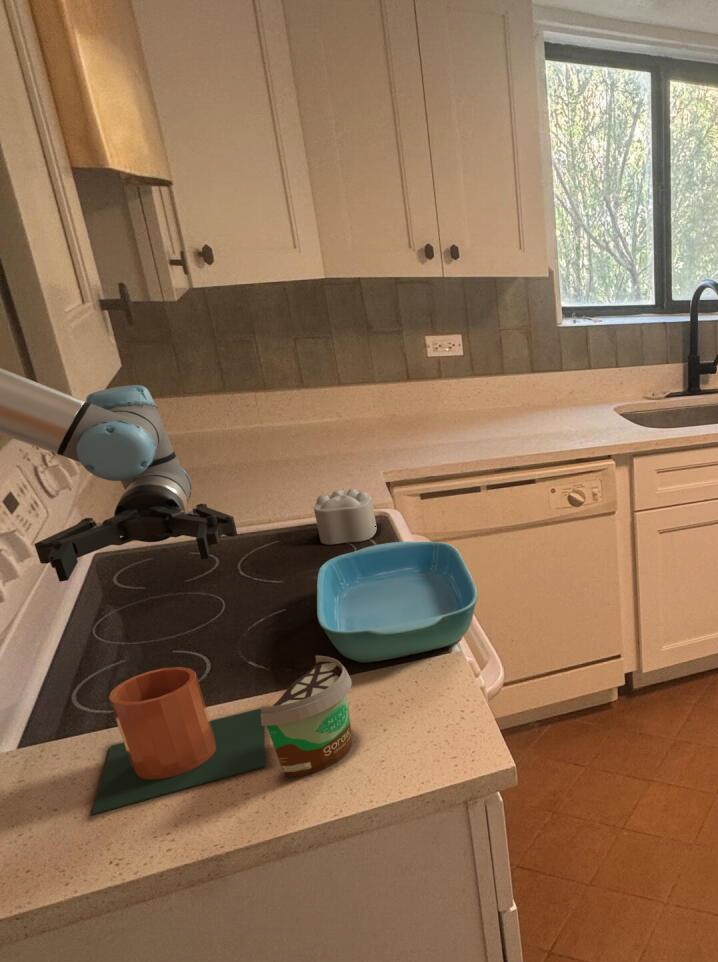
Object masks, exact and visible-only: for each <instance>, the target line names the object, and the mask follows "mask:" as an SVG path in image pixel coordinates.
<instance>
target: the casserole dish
mask: <svg viewBox="0 0 718 962" xmlns="http://www.w3.org/2000/svg"><path fill="white" fill-rule="evenodd" d="M316 580H317V581H316V616H317V621H318V624H319V625H320V627H321V628H322V629H323V631H324V632H325V634H326V636H327V637H328V639H329V640H330V642H331V643H332V645H333V646H334V648H335V649H336V650H337V651H338V653H340V654H341V655H342V656H343V657H345V658H346V659H349V660H351V661H355V662H358V663H363V664H364V663H365V664H366V663H367V664H369V663H370V664H371V663H376V662H382V661H388V660H393V659H399V658H404V657H407V656H410V655H418V654H421V653H426V652H430V651H435V650H439V649H442V648H446V647H448V646H451V645H453V644H455V643H456V642H458V641H459V640H461V639H462V638H463V637H464V636H465V635H466V634H467V633H468V631H469V629H470V627H471V625H472V622H473V617H474V614H475V609H476V604H477V601H478V595H479V594H478V589H477V586H476V583H475V581H474V579H473V577H472V574H471V572H470V570H469V568H468V566H467V564H466V562H465V560H464V558H463V556H462V554H461V553H460V551H459V549H457V548H456V547H455V546H453V545H452V544H450V543H449V542H448V543H447V542H443V541H395V542H394V541H393V542H386V543H380V544H375V545H371V546H367V547H363V548H360V549H358V550H356V551H355V550H354V551H352V552H349V553H344V554H341V555H338V556H335V557H332V558H331V559H328V560H327V561H326V562H324V563H323V564H322V565H321V566H320V568H319V570H318V572H317V579H316Z"/></svg>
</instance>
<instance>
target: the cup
mask: <svg viewBox="0 0 718 962" xmlns="http://www.w3.org/2000/svg"><path fill="white" fill-rule="evenodd" d="M108 701H109V703H110V707H111V710H112V713H113V715H114V718H115V721H116V724H117V726H118V727H117V728H118V730H119V732H120V735H121V738H122V741H123V743H124V744H125V747H126V750H127V753H128V756H129V759H130V762H131V765H132V767H133V769H134V771H135V774H136V775H137V776H138V777H140V778H143V779H151V780H154V779H164V778H169V777H173V776H177V775H180V774H183V773H185V772H188V771H190V770H192V769H194V768H196V767H198V766H200V765H201V764H203V763H204V762H206V761H207V760H208V759H209V758H210V757H211V756H212V755H213V754H214V752H215V750H216V742H215V737H214V733H213V730H212V726H211V723H210V721H211V720H210V716H209V713H208V709H207V706H206V703H205V700H204V695H203V692H202V689H201V685H200V682H199V678H198V675H197V672H196V671H194V670H193V669H192V668H189V667H183V666H173V667H162V668H158V669H154V670H149V671H146V672H144V673H140V674H137V675H135V676H133V677H131V678H129V679H126V680H124V681H123V682H121V683H120V684H119V683H118V685H116V687H115V688H113V689H112V690H111V691H110V693H109V696H108Z"/></svg>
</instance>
